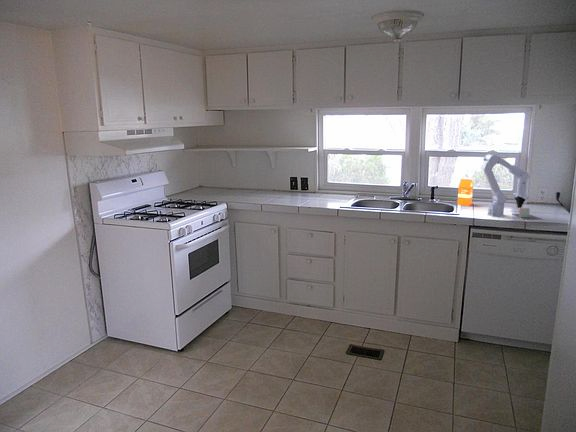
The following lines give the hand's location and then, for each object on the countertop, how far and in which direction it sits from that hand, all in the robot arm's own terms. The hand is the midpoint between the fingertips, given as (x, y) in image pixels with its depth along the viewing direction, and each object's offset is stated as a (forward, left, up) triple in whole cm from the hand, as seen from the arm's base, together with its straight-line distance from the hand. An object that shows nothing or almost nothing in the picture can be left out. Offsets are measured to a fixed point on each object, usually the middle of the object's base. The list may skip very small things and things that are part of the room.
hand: (519, 207), depth 306 cm
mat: (+2, -5, -6) cm, 8 cm away
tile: (0, -6, -5) cm, 8 cm away
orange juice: (-19, +42, -6) cm, 47 cm away
